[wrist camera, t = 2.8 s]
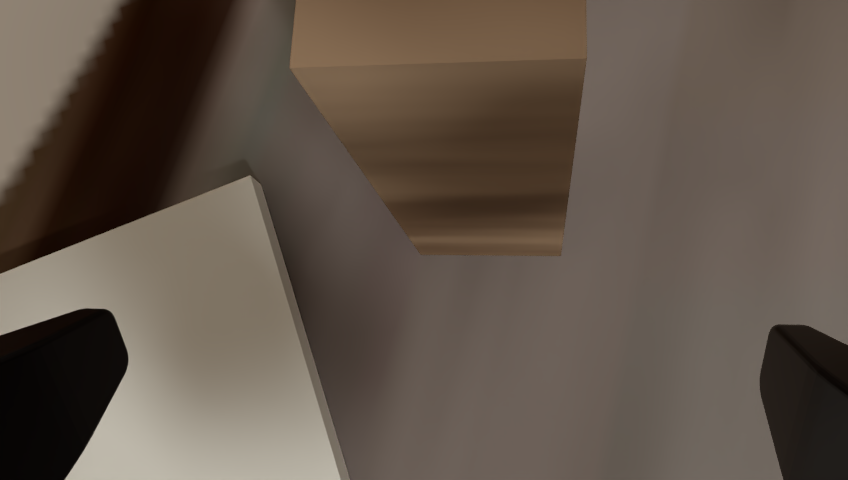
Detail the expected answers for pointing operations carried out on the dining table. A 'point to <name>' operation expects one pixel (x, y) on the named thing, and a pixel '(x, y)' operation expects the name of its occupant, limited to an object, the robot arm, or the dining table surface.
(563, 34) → the walnut block
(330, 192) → the dining table surface
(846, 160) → the dining table surface
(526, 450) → the dining table surface
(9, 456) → the robot arm
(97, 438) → the felt coaster
